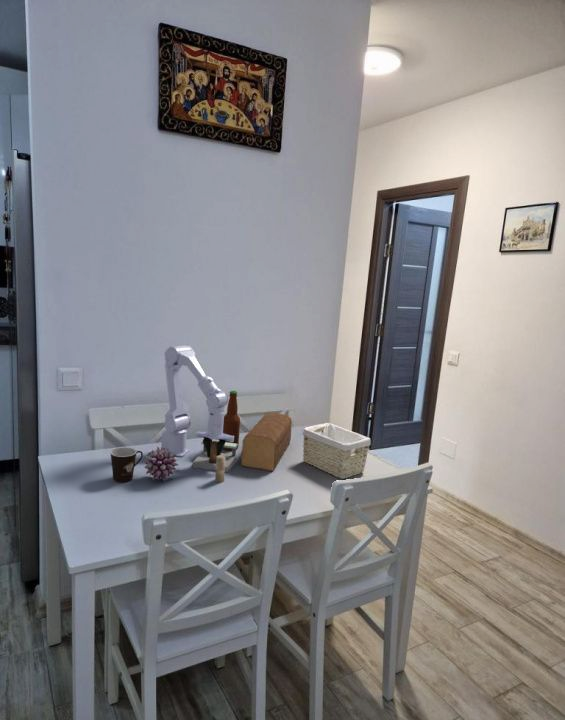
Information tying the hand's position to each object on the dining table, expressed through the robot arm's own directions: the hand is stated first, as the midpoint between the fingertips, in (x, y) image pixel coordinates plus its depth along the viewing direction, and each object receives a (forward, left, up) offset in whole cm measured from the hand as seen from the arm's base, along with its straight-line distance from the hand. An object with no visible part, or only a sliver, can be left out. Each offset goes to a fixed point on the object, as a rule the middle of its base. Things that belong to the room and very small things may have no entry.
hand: (213, 457), depth 186 cm
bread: (+18, +19, -4) cm, 27 cm away
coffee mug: (-25, -21, -4) cm, 33 cm away
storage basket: (+46, +16, -4) cm, 49 cm away
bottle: (+1, +21, -4) cm, 21 cm away
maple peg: (+6, -12, -4) cm, 14 cm away
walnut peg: (0, 0, -3) cm, 3 cm away
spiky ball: (-14, -18, -4) cm, 23 cm away
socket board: (0, +2, -4) cm, 4 cm away
